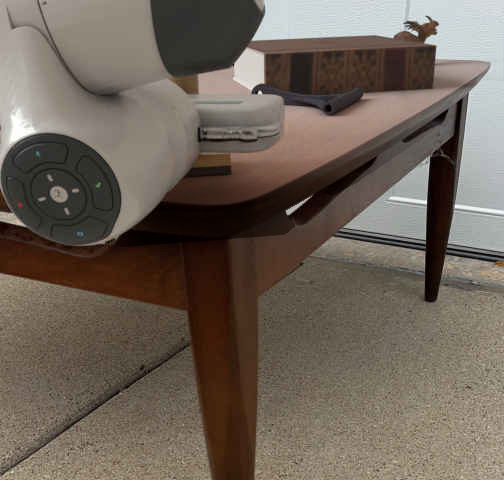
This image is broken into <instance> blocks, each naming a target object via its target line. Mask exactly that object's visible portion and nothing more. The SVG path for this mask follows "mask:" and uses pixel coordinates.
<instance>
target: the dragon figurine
mask: <svg viewBox="0 0 504 480" xmlns="http://www.w3.org/2000/svg"><path fill="white" fill-rule="evenodd" d="M425 17H426V18H427V19H428V21H429V22H425V23H424V22H423V23H422V24H420V23H419V22H418V20H415V21H414V20H406V21H404V22H403V23H402V24H403V25H404V28H407V30H402V31H399V32H397V33H396V34H394V35H393V38H395V39H401V40H407V41H413V42H419V43H425V42H426V41H427V39H428V38H430V37H431V36H436V35H437V34H438V31H437V30H438V29H437V27H439V26H440V23H439V22H438V21H437V20H434V19H432V17H430V15H425ZM408 30H411V32H410V31H408ZM413 31H414V32H416V33H417V35H415V34H414V33H412V32H413Z"/></svg>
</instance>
